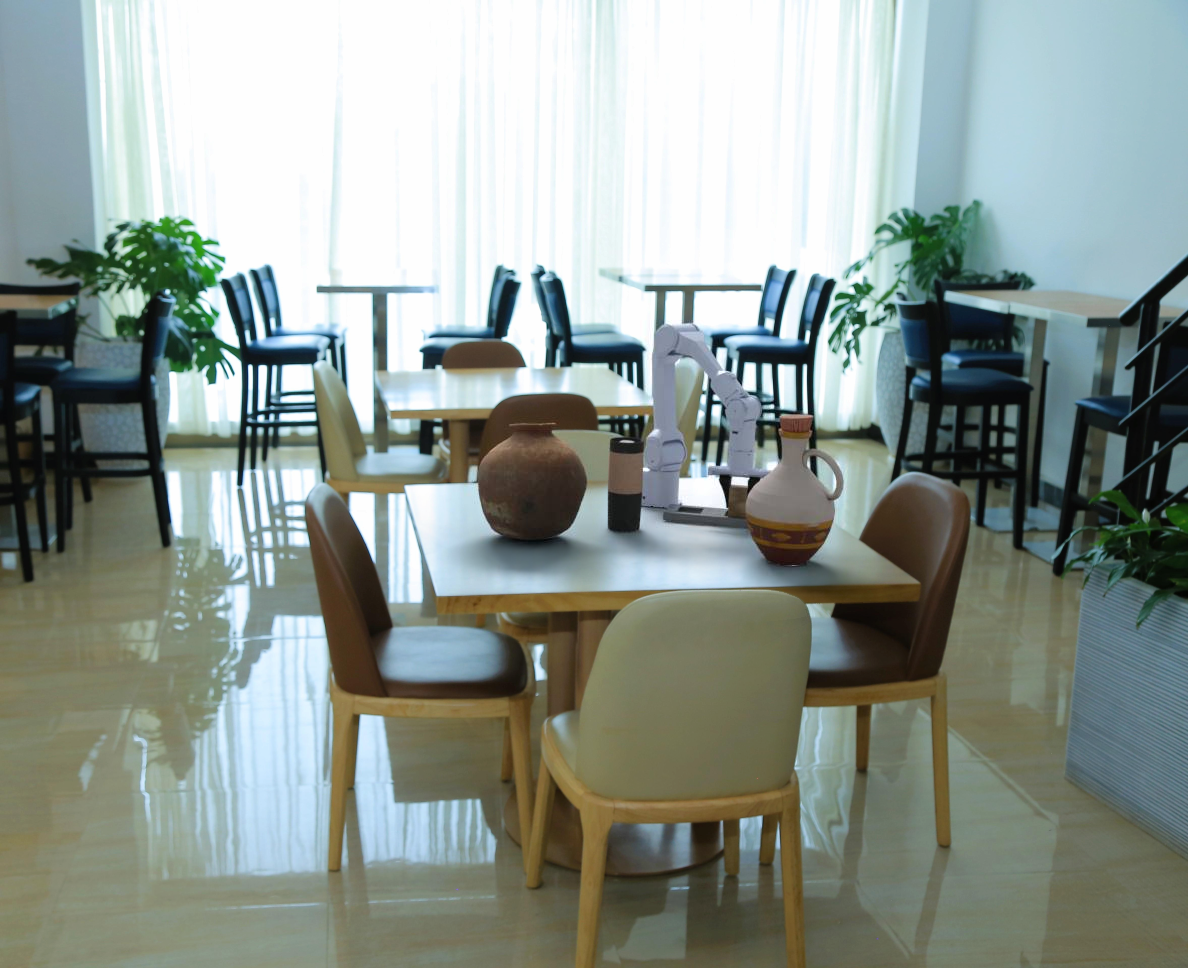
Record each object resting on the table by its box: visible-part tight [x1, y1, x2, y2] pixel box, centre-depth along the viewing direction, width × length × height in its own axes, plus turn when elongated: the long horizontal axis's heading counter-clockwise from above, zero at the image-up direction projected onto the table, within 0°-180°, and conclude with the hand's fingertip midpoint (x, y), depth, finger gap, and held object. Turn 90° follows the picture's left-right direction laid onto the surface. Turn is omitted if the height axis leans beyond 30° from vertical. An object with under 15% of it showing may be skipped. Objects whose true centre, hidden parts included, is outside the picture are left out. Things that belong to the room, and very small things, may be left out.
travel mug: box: [607, 436, 645, 533], centre depth 262 cm, size 8×8×20 cm
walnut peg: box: [727, 484, 748, 518], centre depth 272 cm, size 4×4×7 cm
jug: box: [746, 414, 845, 566], centre depth 238 cm, size 20×18×30 cm
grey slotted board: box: [662, 504, 749, 529], centre depth 274 cm, size 22×9×2 cm, turn 76°
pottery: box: [477, 422, 588, 541], centre depth 251 cm, size 23×23×25 cm
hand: (737, 508), depth 272 cm, fingers closed on walnut peg, 4 cm apart
